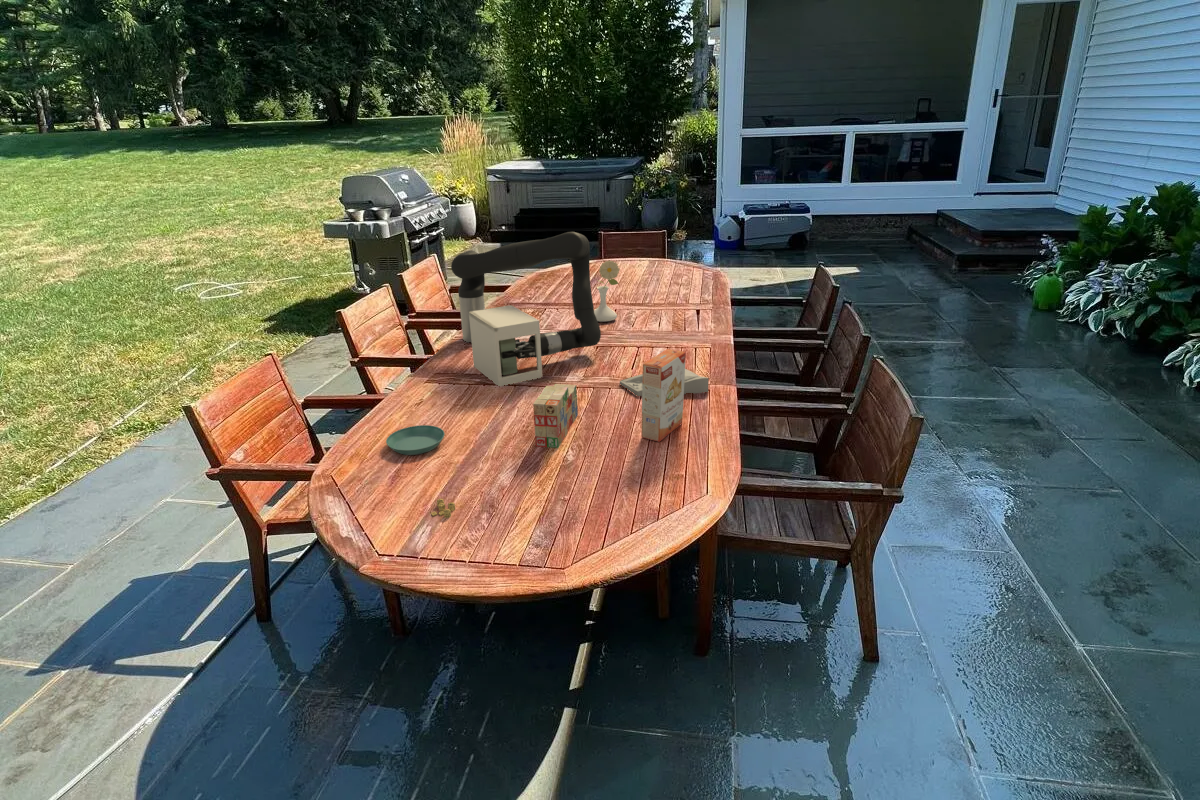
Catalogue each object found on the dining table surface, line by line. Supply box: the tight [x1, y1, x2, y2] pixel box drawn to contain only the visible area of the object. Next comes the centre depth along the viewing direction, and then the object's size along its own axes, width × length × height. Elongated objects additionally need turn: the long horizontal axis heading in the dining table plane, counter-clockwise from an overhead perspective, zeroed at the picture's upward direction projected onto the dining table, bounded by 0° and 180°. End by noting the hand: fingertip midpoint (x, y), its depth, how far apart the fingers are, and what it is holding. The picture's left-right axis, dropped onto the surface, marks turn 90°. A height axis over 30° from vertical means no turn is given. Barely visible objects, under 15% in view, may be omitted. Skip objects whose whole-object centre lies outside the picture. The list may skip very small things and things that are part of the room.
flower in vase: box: [594, 260, 621, 323], centre depth 273 cm, size 13×11×25 cm
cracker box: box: [640, 348, 687, 443], centre depth 175 cm, size 14×6×21 cm, turn 148°
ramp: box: [619, 368, 710, 397], centre depth 206 cm, size 28×16×5 cm, turn 77°
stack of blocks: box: [532, 383, 579, 449], centre depth 179 cm, size 21×6×12 cm, turn 168°
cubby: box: [469, 304, 543, 387], centre depth 220 cm, size 22×15×19 cm
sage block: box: [499, 338, 519, 376], centre depth 221 cm, size 5×5×12 cm
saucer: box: [385, 424, 446, 456], centre depth 174 cm, size 15×15×3 cm
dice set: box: [430, 498, 456, 519], centre depth 144 cm, size 5×5×2 cm
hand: (498, 353), depth 220 cm, fingers closed on sage block, 5 cm apart
